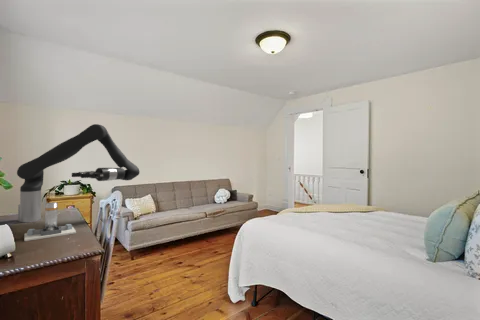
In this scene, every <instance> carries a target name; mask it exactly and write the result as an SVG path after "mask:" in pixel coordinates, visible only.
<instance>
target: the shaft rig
mask: <svg viewBox="0 0 480 320" xmlns="http://www.w3.org/2000/svg"><path fill="white" fill-rule="evenodd" d="M75 234H77V230H76V228H75V227H74V226H73V224H71V223H66V224H65V225H59V226H58V225H57V230H53V231H46V232H45V227H44V228H39V229H35V228H29V229H27V232H25V233H24V237H23V238H24V242H29V241H35V240H36V241H37V240H42V239H48V238H55V237H62V236H68V235H75Z"/></svg>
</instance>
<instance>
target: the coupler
mask: <svg viewBox="0 0 480 320" xmlns="http://www.w3.org/2000/svg"><path fill="white" fill-rule="evenodd" d="M58 205H59V203H58V202H47V203H45V217H44V218H45V219H44V221H45V222H44V228H45V232H46V231H53V230H57V226H58V212H59V211H58V210H59V207H58Z"/></svg>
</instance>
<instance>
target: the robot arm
mask: <svg viewBox="0 0 480 320" xmlns="http://www.w3.org/2000/svg"><path fill="white" fill-rule="evenodd" d="M95 141H98V142H99V143H100V144H101V145H102V146H103V147H104V149H105V150H106V151H107V153H108V155H109V156H110V158H111V160H112V161H113V162H114V163H115V165H116V166H117V167H98V168H96V169H95V170H89V171H88V170H87V171H86V170H85V171H78V172H72V173H71V177H72V178H81V179H95V180H96V181H97V182H105V181H108V182H109V181H113V180H114V181H115V180H122V181H131V180H133V179H135V178H136V177H137V176H139V175H140V169H139V166H137V165H136V164H134V163H133V161H132V162H131V161H130V160H129V159H128V158H127V156H126V155H125V154H124V153H123V152H122V151H121V149H120V148H119V147H118V145H116V143H115V142H114V140H113V139H112V137H111V135H110V133H109V131H108V130H107V128H106V127H105V126H104V125H101V124H98V123H97V124H91V125H90V126H88V127H87V128H85V129H84V130H82V131H81V132H80V133H78V134H77V135H75V136H73V137H70V138H68V139H66V140H65V141H63V142H61V143H59V144H57V145H56V146H54V147H52V148H51V149H49V150H47V151H45V152H44V153H43V154H42V155H40V156H38V157H36V158H34V159H32V160H30V161H28V162H25V163H23V164H21V165H20V166H18V168H17V170H16V175H17V177H19V178H20V179H22V180H24V182H23V184H22V185H21V186H20V187H19V188H20V190H19V191H20V195H19V200H20V201H19V204H18V205H17V206H18V209H17V210H18V213H17V214H18V215H17V218H18V219H17V222H19V223H30V222H31V223H32V222H37V221H41V219H42V218H41V217H42V186H43V184H44V173H45V172H44V170H45V169H47V168H49V167H51V166H54V165H58V164H60V163H62V162H65V161H67V160H68V159H70V158H72V157H73V156H75V155H76V154H77V153H79V152H80V151H81V150H82V149H84V147H85V146H87V145H89V144H91V143H93V142H95Z"/></svg>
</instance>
